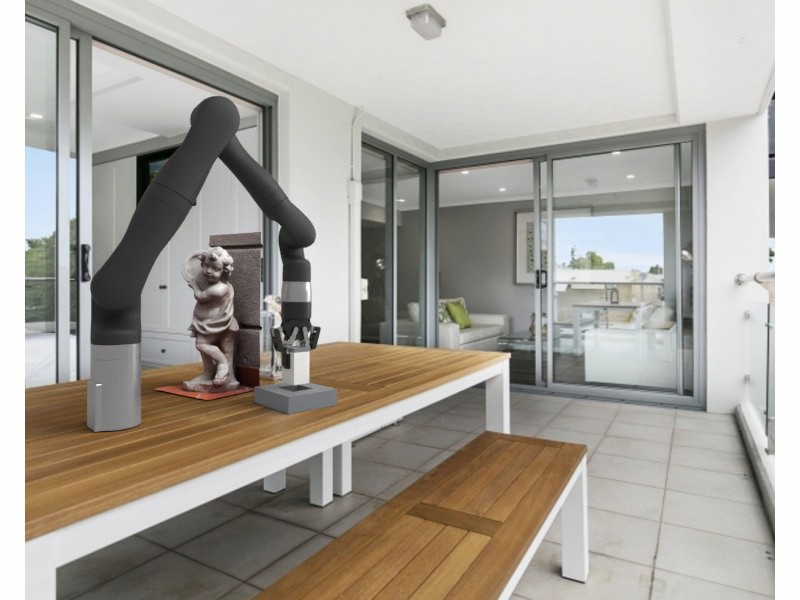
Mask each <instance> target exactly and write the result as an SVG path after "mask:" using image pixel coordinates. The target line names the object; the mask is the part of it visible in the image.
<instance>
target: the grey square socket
mask: <svg viewBox="0 0 800 600" xmlns="http://www.w3.org/2000/svg"><path fill="white" fill-rule="evenodd" d="M253 391H254V392H253V393H254V394H253V395H254V396H253V397H254V398H253V403H255V404H259V405H260V406H264V407H266V408H270V409H273V410H276V411H279V412H281V413H284V414H287V415H291V414H292V415H293V414H296V413H302V412H307V411H312V410H318V409H322V408H328V407H333V406H338V389H337V388H333V387H329V386H325V385H322V384H317V383H313V382H311V381H309V383H307V384H300V385H291V384H287V383H283V382H279V383H273V384H272V383H271V384H265V385H260V386H256V387H254V390H253Z"/></svg>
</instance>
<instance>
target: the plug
mask: <svg viewBox="0 0 800 600" xmlns="http://www.w3.org/2000/svg"><path fill="white" fill-rule="evenodd" d="M310 352H311V351H310V347H304V346H300V345H292V348H291V351H290V354H291V355H290V369H284V367H283V366H282V365H281V383H287V384H291V385H300V384H307V383H309V382H310Z"/></svg>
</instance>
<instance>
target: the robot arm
mask: <svg viewBox="0 0 800 600" xmlns="http://www.w3.org/2000/svg"><path fill="white" fill-rule="evenodd" d="M189 123H190V127H189V130H188V132H187V134H186V136H185V137H184V139H183V141H182V143H181V144H180V145H179V146H178V148H177V149H176V150H175V151H174V153H172V154H171V156H170V157H169V158H168V159H167V160H166V161H165V162H164V164H163V165H162V166H161V168H160V169H159V170H158V171H157V172H156V174H155V176H154V177H153V178H152V180H151V181H150V183H149V184H148V186H147V188H146V190H145V191H144V193H143V194H142V196H141V198H140V200H139V201H138V204H137V206H136V208H135V209H134V212H133V214H132V216H131V219H130V221H129V223H128V226H127V228H126V231H125V233H124V235H123V237H122V238H121V240H120V241H119V243H118V245H117V246H116V247H115V249H114V250H113V252H112V253H111V254H110V255H109V257H108V258H107V259H106V261H105V262H104V263H103V265H101V267H100V268H99V269H98V271H97V272H95V274H94V275H93V277H92V278H91V280H90V284H89V291H90V335H89V336H90V337H89V340H90V341H89V342H90V368H89V369H90V370H89V371H90V372H89V373H90V375H89V376H90V377H89V378H90V379H88V380H87V381H86V385H87V386H86V387H87V390H86V392H87V393H86V395H87V396H86V399H87V400H86V426H87V427H88V428H89V429H90V430H92V431H93V432H94V433H97V432H108V431H109V432H111V431H121V430H126V429H130V428H135V427H137V426H139V425H140V424H141V423H142V421H141V420H142V419H141V418H142V293H143V290H144V287H145V285H146V282H147V280H148V279H149V275H150V274H151V271H152V269H153V267H154V265H155V263H156V261H157V259H158V257H159V256H160V254H161V253H162V252H163V250H164V249H165V248H166V247H167V245H168V244H169V242H171V240H172V239H173V237H174V236H175V235H176V234H177V231H178V230H179V229H180V227H182V224H183V223H184V222H185V220H186V218H187V216H188V215H189V213H190V212H191V210H192V208H193V206H194V205H195V203H196V200H197V199H198V197H199V195H200V192H201V191H202V188H203V187H204V185H205V183H206V180H207V178H208V177H209V174H210V172H211V170H212V167H213V165H214V164H215V163H216V161H217V159H219V160H220V161H221V162H222V163H223V164H224V165H225V167H227V169H228V170H229V171H230V172H231V174H233V176H234V177H235V178H236V179H237V180H238V181H239V183H240V184H241V185H242V186H243V187H244V189H245V190H246V192H247V193H248V194H249V196H250V198H252V200H253V201H254V202H255V204H256V205H257V207H258V208H259V209H260V210H261V211H262V213H263V215H265V217H266V218H267V219H269V220H270V221H273V222H276V223H277V224H278V226H280V227H279V231H278V238H277V240H278V241H277V242H278V243H277V244H278V248H279V254H280V259H281V263H282V275H281V276H282V279H281V280H282V283H281V289H280V290H281V292H280V294H281V295H280V299H281V300H280V303H281V304H280V319H281V323H280V325H279V326H278V327H274V328H273V327H271V328H270V329H269V333H270V336H271V340H272V344H273V349H274V351H275V352H277V353H281V367H282V366H283V367H284V369H290V355H291V354H290V351H291V348H292V346H294V344H295V341H297V342H298V344H299V346H304V347H310V352H311V351H312V350H316V349H317V346H318V343H319V342H318V341H319V338H320V335H321V331H322V328H321V326H318V325H313V324H312V322H311V318H312V304H313V303H312V300H313V299H312V297H313V295H312V294H313V291H312V283H311V282H312V267H311V266H312V265H311V262H310V260H308V259H307V258H305V251H304V249H306V248H309V247H311V246H312V245H313V244H314V243H315V242H316V238H317V232H316V228H315V226H314V224H313V222H312V221H311V220H310V218H309V217H308V216H306V214H304V212H303V211H302V210H301V209H300V208H299V207H298V206H296V205H295V203H293V202H292V201H291V200H290V199H289V196H287V194H286V193H285V191H284V190H283V188H282V187H281V185H280V184H279V183H278V182H277V180H276V179H275V178H274V177H273V176H272V175H271V174H270V172H269V171H268V170H266V169H265V168H264V167H263V166H262V165H261V164H260V163H259V162H258V161H256V160H255V159H254V158H253V156H251V154H250V153H249V152H248V151H247V149H245V147H244V146H243V145H242V143H241V141H240V140H239V138H238V137H237V135H236V134H237V132H238V131H239V128H240V124H241V117H240V111H239V109H238V106H236V104H235V103H234V101H232V100H231V99H229V98H228V97H226V96H224V95H223V96H222V95H212V96H208V97H206V98H204V99H203V100H201V101H200V102H199V103H198V104H197V105H196V106H195V107H194V108H193V109H192V111H191V113H190V117H189ZM282 334H283V338H282Z"/></svg>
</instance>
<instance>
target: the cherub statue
mask: <svg viewBox="0 0 800 600" xmlns="http://www.w3.org/2000/svg"><path fill="white" fill-rule="evenodd" d="M208 241H209V242H208V248H207V249H198V250H195V251H192V252H190V253H189V254H187V256H186V257H185V258H184V260H183V262H182V264H181V275H182V277H183V279H184V281H186V282H187V286H188V287H189V288H191V289H192V291H193V298H194V300H196V303H195V305H194V307H193V312H192V317H191V323H190V325H189V327H188V328H187V329H186V330H187V331H190V332H191V333H190V334H189V337H190V338H195V340H194V344H195V345H194V346H195V348H196V350H197V351H198V352H199V355H200V357H201V361H202V364H203V369H204V371H203V372H201V373H200V374H198V375H197V376H196V377H195V378H192V379H190V380H189V379H188V380H185V381H183V382H182V384H177V385H176V384H175V385H167V386H161V387H156V388H155V390H157V391H163V392H168V393H172V394H176V395H181V396H185V397H192V398H195V399H201V400H204V401H205V400H206V401H209V400H215V399H218V398H224V397H228V396H233V395H238V394H243V393H246V392H250V391H254V387H256V386H261V385H260V382H261V381H260V380H261V378H260V369H261V339H260V338H261V337H260V336H261V331H263V326H261V274H262V273H261V271H262V270H261V267H262V262H261V260H262V259H261V257H262V254H261V253H262V249H263V248H264V244H262V232H261V231H256V232H255V231H254V232H253V231H251V232H240V233H228V234H227V233H226V234H223V233H222V234H211V235H209V239H208Z"/></svg>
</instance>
